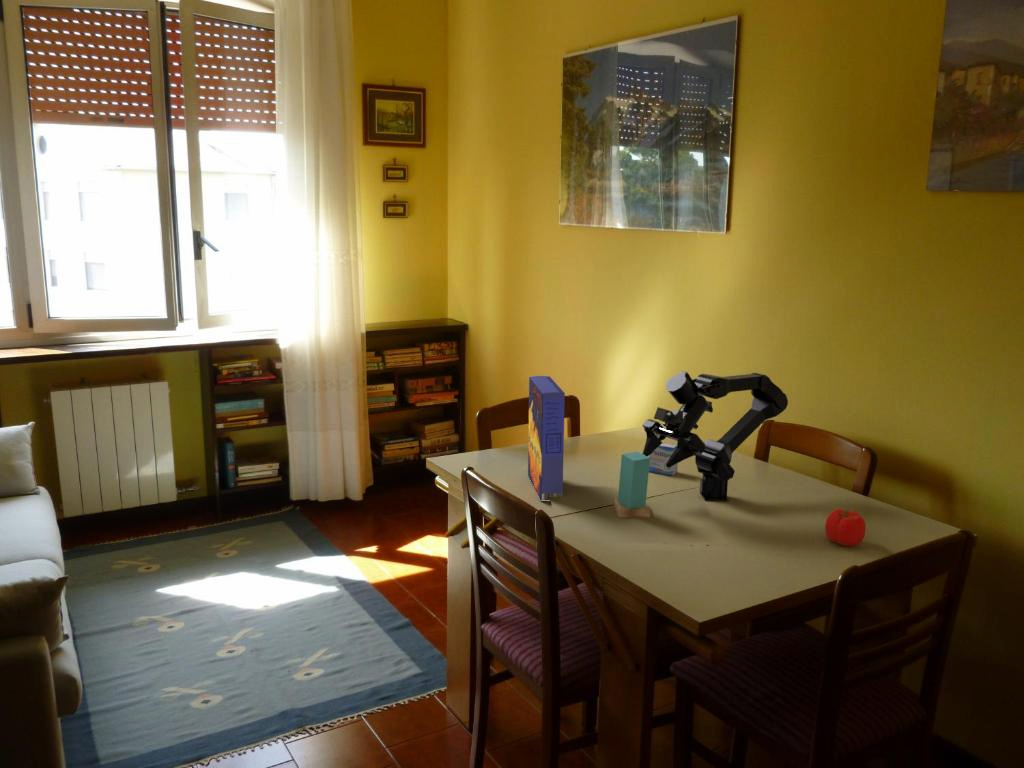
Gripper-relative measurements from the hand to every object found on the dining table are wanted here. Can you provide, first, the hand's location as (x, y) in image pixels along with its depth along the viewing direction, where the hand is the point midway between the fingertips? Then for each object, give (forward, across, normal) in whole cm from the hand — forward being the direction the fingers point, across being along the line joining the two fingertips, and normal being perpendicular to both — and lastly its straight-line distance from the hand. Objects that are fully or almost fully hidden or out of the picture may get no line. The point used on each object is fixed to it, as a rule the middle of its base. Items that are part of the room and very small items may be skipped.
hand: (654, 462), depth 217 cm
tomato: (-8, +39, +27) cm, 49 cm away
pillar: (+12, 0, +2) cm, 12 cm away
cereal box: (+20, -30, 0) cm, 36 cm away
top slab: (+14, 0, +4) cm, 14 cm away
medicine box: (-8, -24, +27) cm, 37 cm away
